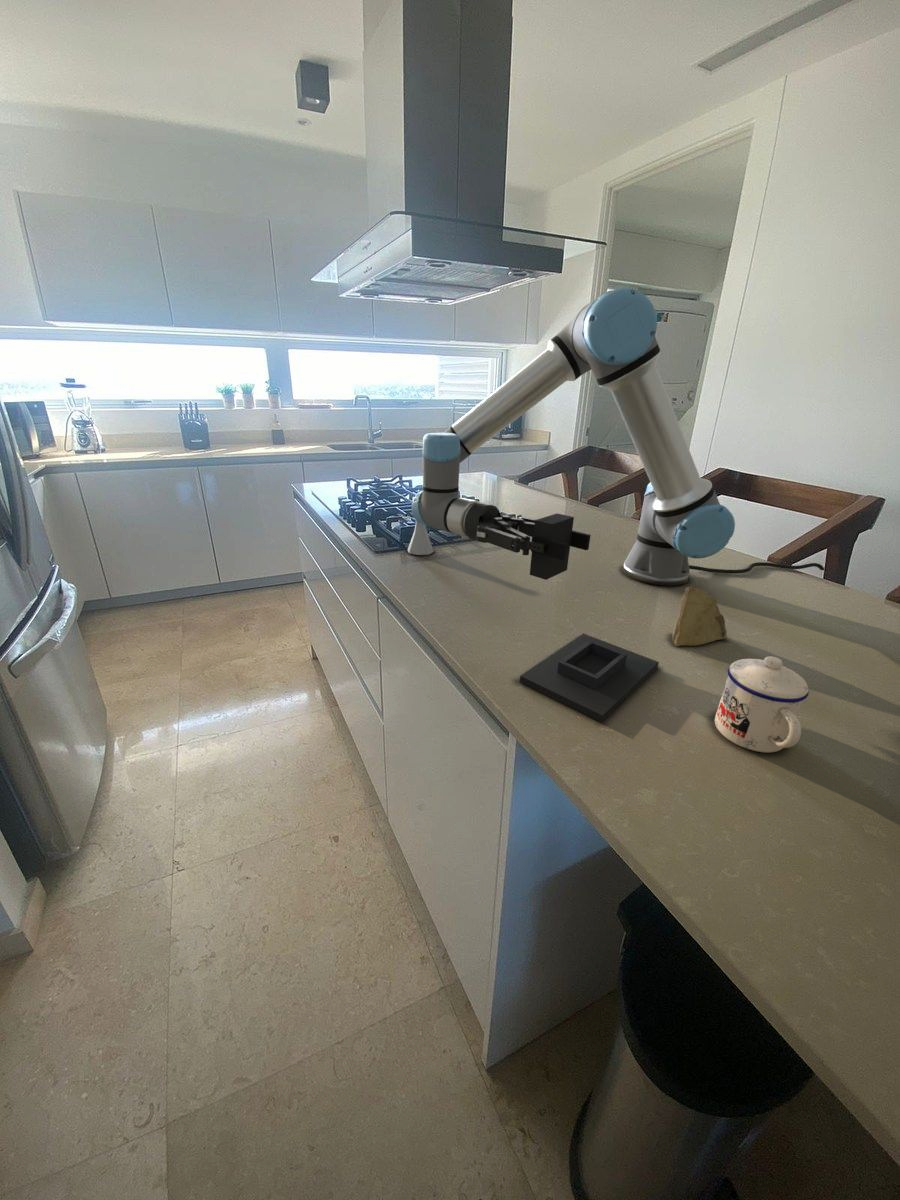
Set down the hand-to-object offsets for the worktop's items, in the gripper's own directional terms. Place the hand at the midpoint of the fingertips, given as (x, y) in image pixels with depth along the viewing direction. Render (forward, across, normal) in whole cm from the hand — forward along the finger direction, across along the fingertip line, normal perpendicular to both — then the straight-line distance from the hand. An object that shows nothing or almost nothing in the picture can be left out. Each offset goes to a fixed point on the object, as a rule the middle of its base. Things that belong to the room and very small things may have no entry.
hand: (577, 547), depth 83 cm
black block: (-5, 0, -6) cm, 8 cm away
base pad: (+10, +8, -18) cm, 22 cm away
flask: (-54, -14, -18) cm, 59 cm away
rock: (+18, -18, -18) cm, 31 cm away
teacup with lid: (+33, +6, -18) cm, 38 cm away
